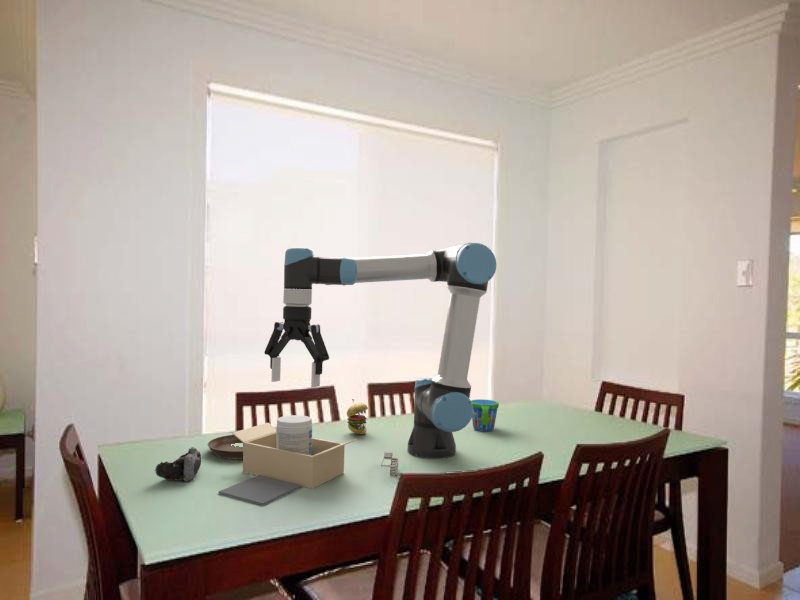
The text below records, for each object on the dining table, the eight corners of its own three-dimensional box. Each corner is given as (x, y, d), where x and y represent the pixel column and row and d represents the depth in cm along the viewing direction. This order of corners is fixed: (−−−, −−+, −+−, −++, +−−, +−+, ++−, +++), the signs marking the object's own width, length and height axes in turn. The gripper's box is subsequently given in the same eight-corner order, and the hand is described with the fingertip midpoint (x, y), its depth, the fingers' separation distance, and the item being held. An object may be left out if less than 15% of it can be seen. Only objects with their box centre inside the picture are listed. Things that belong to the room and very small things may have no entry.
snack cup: (470, 423, 214) (471, 396, 214) (498, 425, 212) (499, 398, 212) (467, 433, 199) (468, 405, 199) (497, 436, 197) (498, 407, 197)
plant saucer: (221, 441, 181) (221, 431, 181) (285, 444, 181) (285, 433, 181) (196, 461, 161) (196, 449, 161) (268, 464, 160) (268, 452, 160)
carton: (356, 475, 151) (357, 438, 151) (325, 491, 139) (326, 451, 139) (267, 456, 166) (267, 422, 166) (231, 469, 154) (232, 432, 154)
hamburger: (362, 437, 190) (363, 402, 190) (342, 434, 193) (343, 400, 192) (370, 431, 198) (371, 398, 197) (351, 429, 200) (352, 396, 200)
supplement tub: (317, 474, 151) (318, 420, 151) (283, 480, 146) (285, 424, 146) (302, 464, 159) (303, 413, 159) (270, 470, 154) (271, 416, 154)
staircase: (383, 472, 156) (384, 452, 156) (397, 472, 156) (398, 453, 156) (380, 479, 150) (381, 459, 150) (395, 480, 150) (396, 460, 150)
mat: (301, 487, 141) (301, 485, 141) (262, 505, 129) (262, 503, 129) (259, 477, 148) (259, 475, 148) (218, 493, 136) (218, 491, 136)
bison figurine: (202, 469, 154) (162, 469, 152) (203, 444, 154) (164, 443, 151) (195, 485, 142) (153, 485, 140) (197, 457, 142) (155, 457, 140)
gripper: (343, 307, 149) (341, 387, 149) (271, 303, 161) (269, 377, 161) (326, 307, 142) (324, 391, 143) (252, 303, 154) (250, 380, 155)
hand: (295, 384), depth 152 cm, fingers open, 13 cm apart
